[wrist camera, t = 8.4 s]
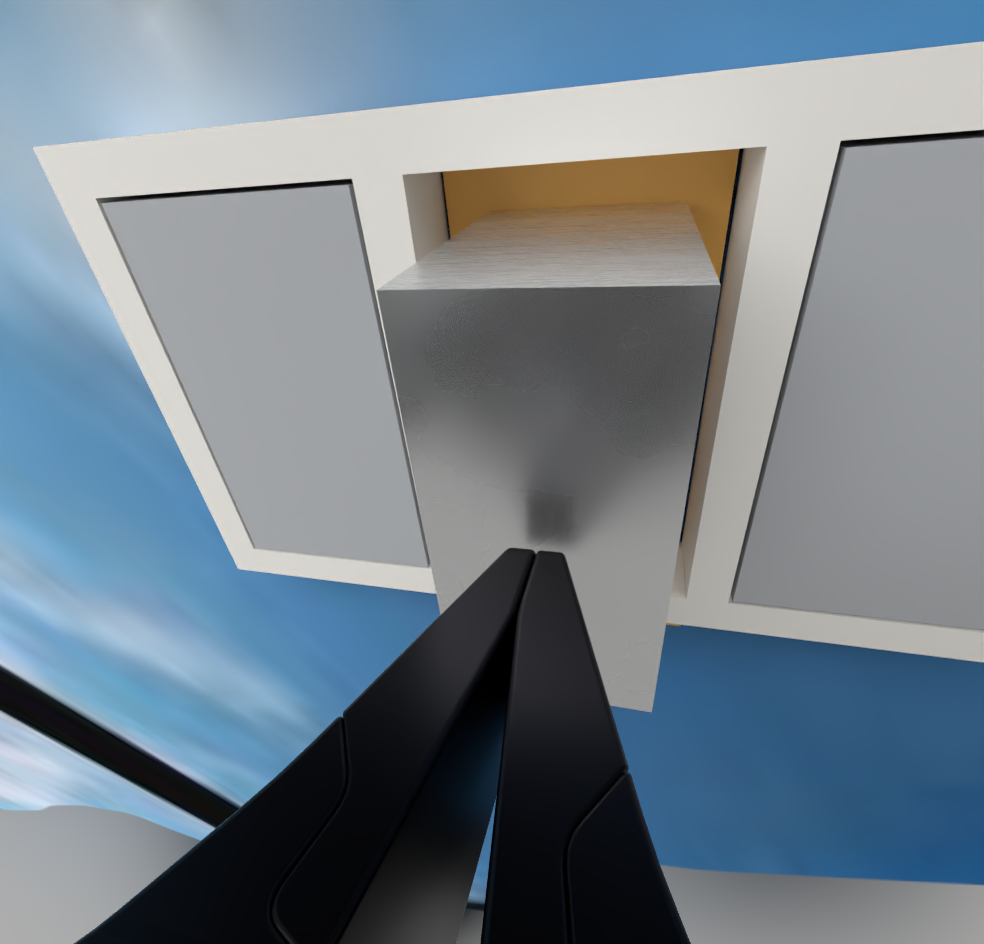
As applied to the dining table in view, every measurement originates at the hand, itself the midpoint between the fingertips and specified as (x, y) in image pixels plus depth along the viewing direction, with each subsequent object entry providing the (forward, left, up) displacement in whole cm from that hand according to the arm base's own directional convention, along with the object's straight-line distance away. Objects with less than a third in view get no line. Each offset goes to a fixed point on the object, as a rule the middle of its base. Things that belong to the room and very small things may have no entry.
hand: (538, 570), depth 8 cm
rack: (0, 0, -7) cm, 7 cm away
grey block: (0, 0, -6) cm, 6 cm away
